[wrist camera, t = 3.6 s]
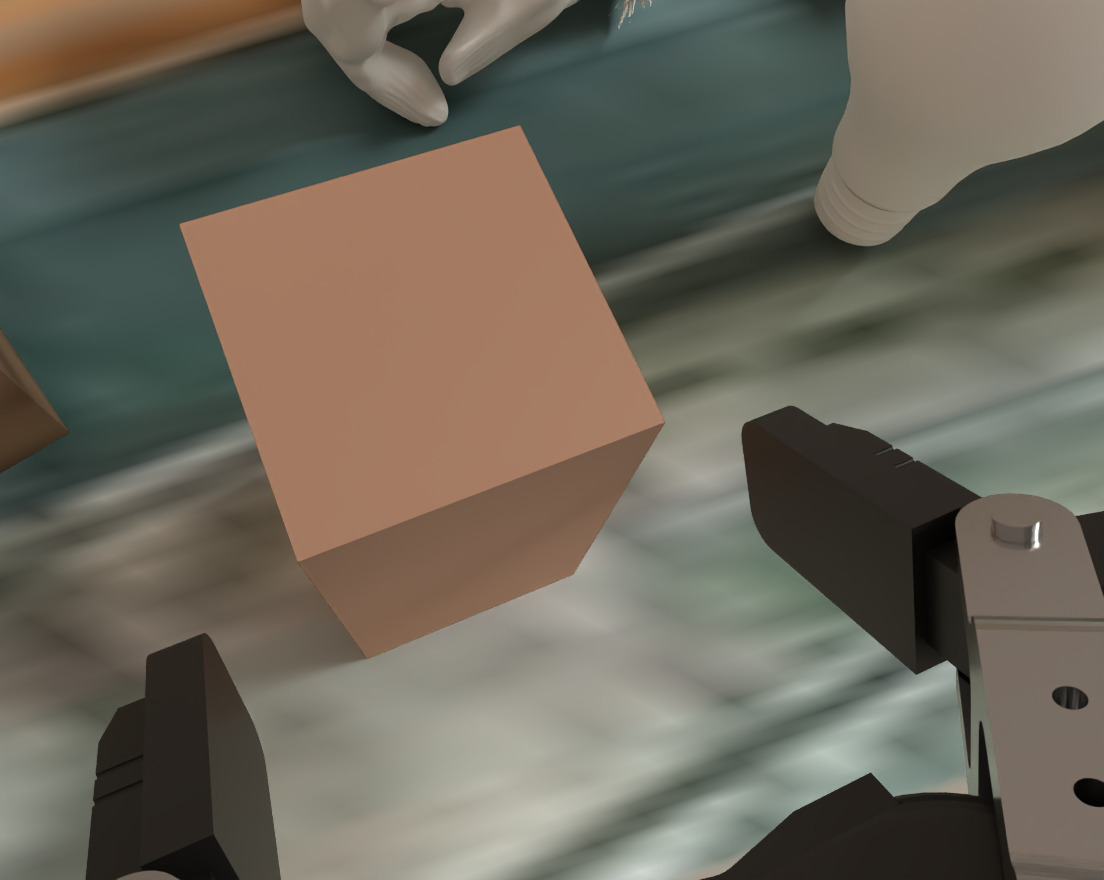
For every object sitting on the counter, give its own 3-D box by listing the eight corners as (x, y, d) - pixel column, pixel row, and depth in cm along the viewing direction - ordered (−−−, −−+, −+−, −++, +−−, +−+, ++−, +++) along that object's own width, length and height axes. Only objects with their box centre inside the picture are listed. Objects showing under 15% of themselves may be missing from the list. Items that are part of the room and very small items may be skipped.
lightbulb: (694, 191, 26) (857, -201, 15) (854, 98, 27) (1098, -313, 17) (838, 362, 24) (1124, 57, 14) (997, 252, 26) (1356, -92, 16)
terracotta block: (492, 388, 23) (520, 124, 14) (573, 574, 22) (665, 421, 12) (295, 459, 22) (179, 223, 13) (367, 659, 21) (297, 562, 11)
